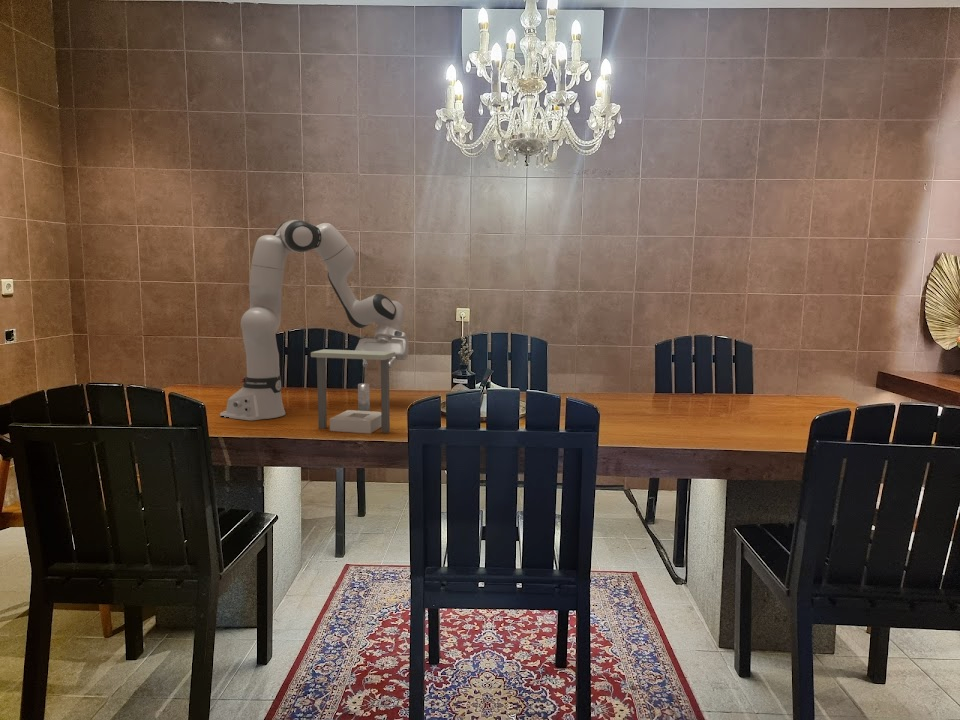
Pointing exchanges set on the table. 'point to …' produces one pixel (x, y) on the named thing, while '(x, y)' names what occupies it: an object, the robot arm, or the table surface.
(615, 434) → the table surface
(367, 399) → the peg
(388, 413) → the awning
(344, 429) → the socket
